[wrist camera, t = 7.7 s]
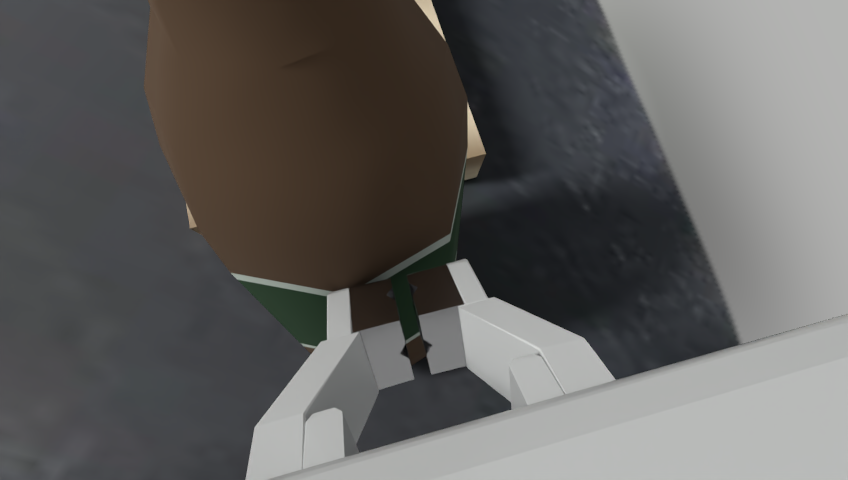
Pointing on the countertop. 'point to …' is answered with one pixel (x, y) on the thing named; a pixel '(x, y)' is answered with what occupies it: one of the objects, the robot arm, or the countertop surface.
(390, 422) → the countertop surface
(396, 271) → the beer bottle
